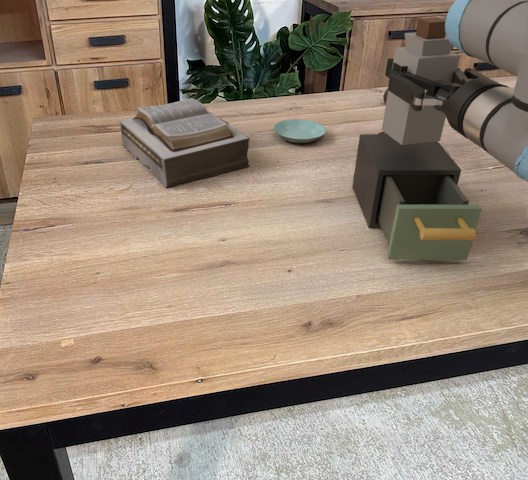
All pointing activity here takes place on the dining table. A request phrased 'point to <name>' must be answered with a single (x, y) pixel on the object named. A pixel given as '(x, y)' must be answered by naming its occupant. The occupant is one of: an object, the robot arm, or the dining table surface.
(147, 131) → the bible
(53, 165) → the dining table surface
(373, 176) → the cabinet
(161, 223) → the dining table surface
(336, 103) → the dining table surface
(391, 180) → the drawer
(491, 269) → the dining table surface
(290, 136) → the saucer
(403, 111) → the perfume bottle
